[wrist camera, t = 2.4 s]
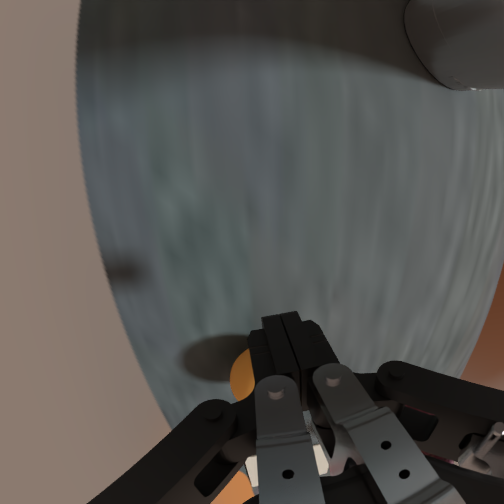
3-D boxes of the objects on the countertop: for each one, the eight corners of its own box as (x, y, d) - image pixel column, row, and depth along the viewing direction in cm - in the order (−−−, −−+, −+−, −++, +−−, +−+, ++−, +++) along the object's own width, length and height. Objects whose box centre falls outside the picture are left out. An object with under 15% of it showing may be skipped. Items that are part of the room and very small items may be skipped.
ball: (223, 334, 21) (226, 386, 16) (294, 324, 22) (313, 372, 17) (232, 381, 23) (237, 431, 18) (294, 372, 24) (309, 419, 18)
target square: (243, 456, 29) (243, 457, 29) (335, 439, 29) (336, 440, 29) (252, 485, 33) (252, 486, 33) (326, 472, 34) (326, 473, 34)
